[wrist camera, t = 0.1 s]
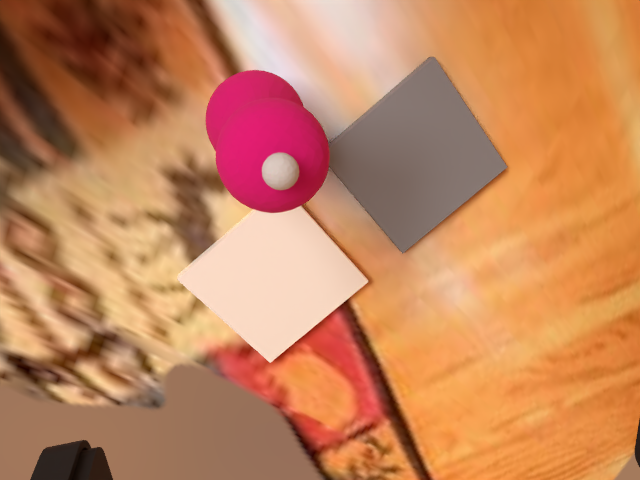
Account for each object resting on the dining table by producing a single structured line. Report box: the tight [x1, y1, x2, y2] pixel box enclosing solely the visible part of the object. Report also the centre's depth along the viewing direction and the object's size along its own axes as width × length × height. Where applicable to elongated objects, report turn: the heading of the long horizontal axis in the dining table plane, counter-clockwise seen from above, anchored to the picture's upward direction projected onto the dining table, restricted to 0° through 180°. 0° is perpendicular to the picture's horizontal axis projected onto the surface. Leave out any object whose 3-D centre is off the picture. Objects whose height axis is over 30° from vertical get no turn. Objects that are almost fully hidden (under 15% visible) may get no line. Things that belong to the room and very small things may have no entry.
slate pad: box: [329, 57, 507, 253], centre depth 46 cm, size 12×12×1 cm
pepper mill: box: [206, 70, 330, 213], centre depth 34 cm, size 7×7×20 cm
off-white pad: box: [177, 206, 369, 363], centre depth 48 cm, size 12×12×1 cm
